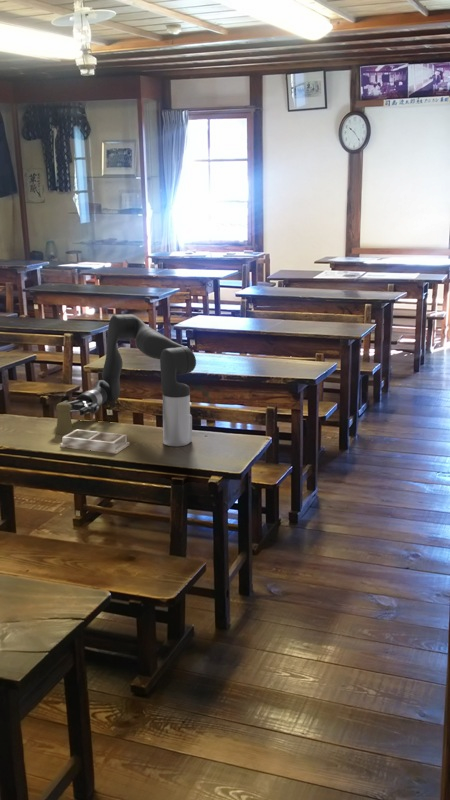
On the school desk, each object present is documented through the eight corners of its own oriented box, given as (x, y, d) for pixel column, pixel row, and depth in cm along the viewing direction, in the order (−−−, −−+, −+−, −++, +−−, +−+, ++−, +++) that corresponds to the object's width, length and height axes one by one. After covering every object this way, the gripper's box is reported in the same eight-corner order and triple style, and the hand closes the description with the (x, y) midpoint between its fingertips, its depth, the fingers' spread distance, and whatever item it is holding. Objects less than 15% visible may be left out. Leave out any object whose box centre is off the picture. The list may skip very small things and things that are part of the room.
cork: (71, 435, 279) (70, 405, 277) (54, 434, 279) (53, 404, 277) (74, 430, 285) (73, 400, 282) (58, 429, 285) (56, 400, 283)
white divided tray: (60, 446, 266) (59, 436, 265) (74, 438, 275) (74, 428, 275) (116, 453, 260) (116, 443, 259) (129, 444, 269) (129, 435, 268)
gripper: (71, 390, 301) (51, 400, 286) (106, 392, 297) (87, 403, 282) (72, 409, 303) (52, 420, 288) (106, 412, 299) (88, 423, 284)
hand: (70, 411), depth 285 cm, fingers open, 8 cm apart
